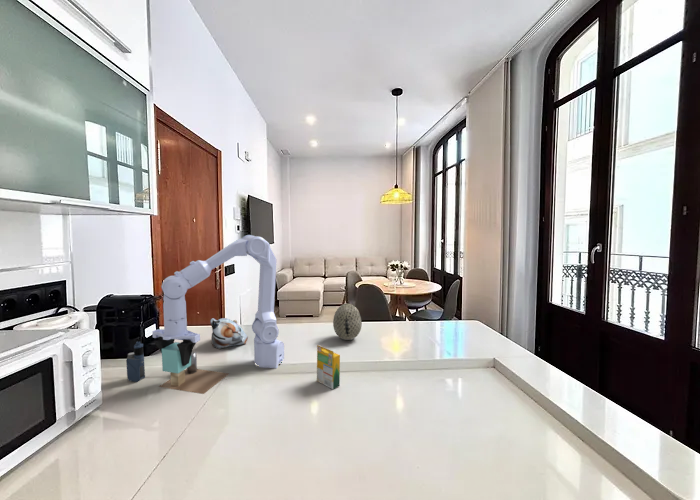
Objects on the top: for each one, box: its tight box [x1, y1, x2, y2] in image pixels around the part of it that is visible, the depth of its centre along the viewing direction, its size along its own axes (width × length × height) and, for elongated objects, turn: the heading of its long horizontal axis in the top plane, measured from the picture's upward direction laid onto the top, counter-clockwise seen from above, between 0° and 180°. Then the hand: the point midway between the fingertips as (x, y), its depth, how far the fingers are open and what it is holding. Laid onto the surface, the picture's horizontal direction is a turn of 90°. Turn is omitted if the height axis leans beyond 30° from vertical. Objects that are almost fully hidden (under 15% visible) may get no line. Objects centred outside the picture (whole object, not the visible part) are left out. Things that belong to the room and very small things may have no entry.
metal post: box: [186, 351, 198, 374], centre depth 101 cm, size 3×3×6 cm
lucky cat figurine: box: [209, 317, 249, 349], centre depth 124 cm, size 15×12×14 cm
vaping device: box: [125, 341, 146, 383], centre depth 97 cm, size 3×5×12 cm, turn 78°
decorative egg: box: [332, 303, 362, 341], centre depth 132 cm, size 12×12×15 cm
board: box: [157, 368, 230, 395], centre depth 96 cm, size 15×12×1 cm
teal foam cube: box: [161, 341, 191, 373], centre depth 93 cm, size 5×5×7 cm
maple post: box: [169, 369, 186, 386], centre depth 94 cm, size 3×3×6 cm
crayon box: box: [316, 344, 341, 390], centre depth 97 cm, size 7×3×12 cm, turn 47°
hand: (177, 363), depth 94 cm, fingers closed on teal foam cube, 5 cm apart
